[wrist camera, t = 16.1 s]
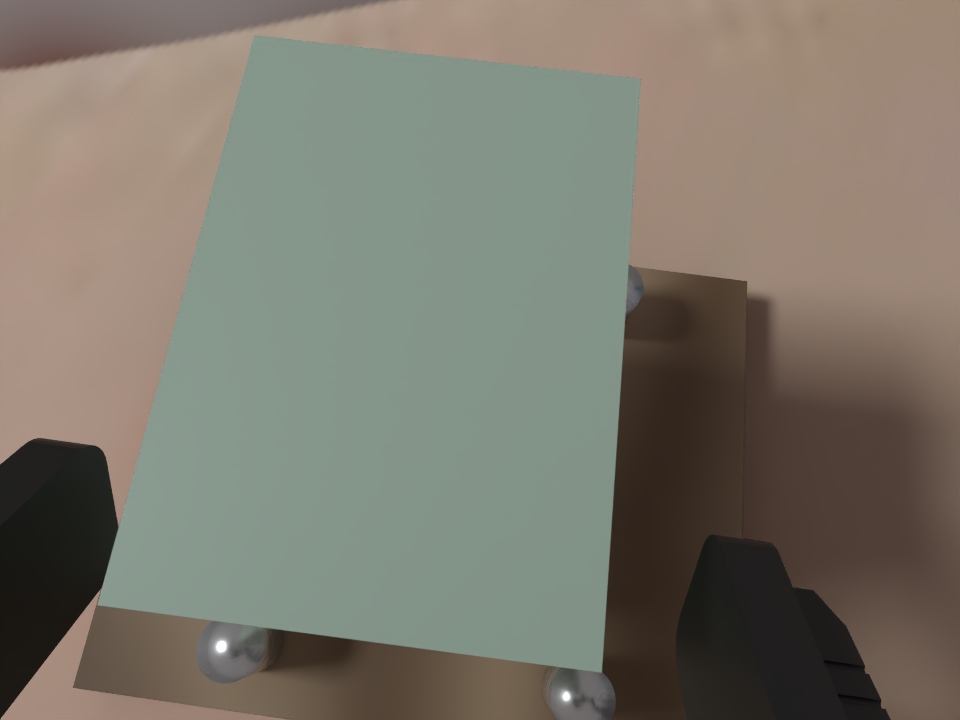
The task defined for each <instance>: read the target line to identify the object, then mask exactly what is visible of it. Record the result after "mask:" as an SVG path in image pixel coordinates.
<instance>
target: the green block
mask: <svg viewBox="0 0 960 720" xmlns="http://www.w3.org/2000/svg"><path fill="white" fill-rule="evenodd" d="M640 85H641V79H637V78H629V77H620V76H611V75H602V74H593V73H584V72H575V71H567V70H558V69H549V68H540V67H531V66H522V65H513V64H505V63H496V62H487V61H478V60H469V59H460V58H451V57H443V56H434V55H425V54H416V53H407V52H398V51H389V50H381V49H372V48H363V47H354V46H345V45H336V44H327V43H319V42H310V41H301V40H292V39H283V38H274V37H265V36H256V35H255V36H254V40H253V43H252V47H251V51H250V54H249V58H248V62H247V65H246V69H245V72H244V76H243V80H242V83H241V87H240V90H239V94H238V98H237V101H236V105H235V109H234V112H233V116H232V119H231V123H230V127H229V130H228V134H227V138H226V141H225V145H224V148H223V152H222V156H221V159H220V163H219V166H218V170H217V174H216V177H215V181H214V185H213V188H212V192H211V195H210V199H209V203H208V206H207V210H206V213H205V217H204V221H203V224H202V228H201V232H200V235H199V239H198V242H197V246H196V250H195V253H194V257H193V261H192V264H191V268H190V271H189V275H188V279H187V282H186V286H185V289H184V293H183V297H182V300H181V304H180V308H179V311H178V315H177V318H176V322H175V326H174V329H173V333H172V337H171V340H170V344H169V347H168V351H167V355H166V358H165V362H164V365H163V369H162V373H161V376H160V380H159V384H158V387H157V391H156V394H155V398H154V402H153V405H152V409H151V413H150V416H149V420H148V423H147V427H146V431H145V434H144V438H143V441H142V445H141V449H140V452H139V456H138V460H137V463H136V467H135V470H134V474H133V478H132V481H131V485H130V489H129V492H128V496H127V499H126V503H125V507H124V510H123V514H122V517H121V521H120V525H119V528H118V532H117V536H116V539H115V543H114V546H113V550H112V554H111V557H110V561H109V565H108V568H107V572H106V575H105V579H104V583H103V586H102V590H101V593H100V597H99V601H98V604H97V605H100V606H107V607H115V608H122V609H130V610H137V611H145V612H152V613H160V614H167V615H175V616H182V617H190V618H197V619H205V620H212V621H219V622H227V623H234V624H242V625H249V626H257V627H264V628H272V629H279V630H287V631H294V632H302V633H309V634H316V635H324V636H331V637H339V638H346V639H354V640H361V641H369V642H376V643H384V644H391V645H399V646H406V647H413V648H421V649H428V650H436V651H443V652H451V653H458V654H466V655H473V656H481V657H488V658H496V659H503V660H510V661H518V662H525V663H533V664H540V665H548V666H555V667H563V668H570V669H578V670H585V671H593V672H600V673H602V662H603V647H604V632H605V616H606V601H607V586H608V571H609V556H610V541H611V525H612V510H613V495H614V480H615V465H616V449H617V434H618V419H619V404H620V389H621V373H622V358H623V343H624V328H625V313H626V298H627V282H628V267H629V252H630V237H631V222H632V206H633V191H634V176H635V161H636V146H637V130H638V115H639V100H640Z"/></svg>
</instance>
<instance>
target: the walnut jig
mask: <svg viewBox="0 0 960 720" xmlns="http://www.w3.org/2000/svg"><path fill="white" fill-rule="evenodd" d="M746 316H747V281H740V280H732V279H724V278H716V277H709V276H701V275H693V274H685V273H677V272H669V271H662V270H654V269H646V268H638V267H632V266H630V265H629V267H628V282H627V298H626V313H625V328H624V343H623V358H622V373H621V389H620V404H619V419H618V434H617V449H616V465H615V480H614V495H613V510H612V525H611V541H610V556H609V571H608V586H607V601H606V616H605V632H604V647H603V662H602V673H600V672H593V671H585V670H578V669H570V668H563V667H555V666H548V665H540V664H533V663H525V662H518V661H510V660H503V659H496V658H488V657H481V656H473V655H466V654H458V653H451V652H443V651H436V650H428V649H421V648H413V647H406V646H399V645H391V644H384V643H376V642H369V641H361V640H354V639H346V638H339V637H331V636H324V635H316V634H309V633H302V632H294V631H287V630H279V629H272V628H264V627H257V626H249V625H242V624H234V623H227V622H219V621H212V620H205V619H197V618H190V617H182V616H175V615H167V614H160V613H152V612H145V611H137V610H130V609H122V608H115V607H107V606H100V605H96V608H95V612H94V615H93V619H92V622H91V626H90V629H89V633H88V637H87V640H86V644H85V647H84V651H83V654H82V658H81V661H80V665H79V668H78V672H77V675H76V679H75V682H74V686H73V688H78V689H85V690H92V691H99V692H105V693H112V694H119V695H126V696H133V697H139V698H146V699H153V700H160V701H167V702H173V703H180V704H187V705H194V706H201V707H207V708H214V709H221V710H228V711H235V712H241V713H248V714H255V715H262V716H269V717H275V718H282V719H289V720H687V718H686V713H685V708H684V703H683V697H682V692H681V687H680V682H679V676H678V671H677V664H676V633H677V626H678V621H679V617H680V614H681V611H682V608H683V605H684V601H685V598H686V595H687V592H688V589H689V586H690V583H691V580H692V577H693V574H694V571H695V568H696V565H697V562H698V559H699V556H700V553H701V550H702V547H703V544H704V542H705V540H706V539H707V537H708V536H710V535H712V534H713V535H720V536H727V537H735V538H742V535H743V480H744V425H745V371H746ZM119 525H120V524H119ZM101 590H102V588H101ZM100 593H101V591H100ZM99 597H100V594H99ZM98 601H99V598H98ZM98 601H97V604H98Z"/></svg>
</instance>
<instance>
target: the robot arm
mask: <svg viewBox="0 0 960 720" xmlns="http://www.w3.org/2000/svg"><path fill="white" fill-rule="evenodd" d="M117 532H118V522H117V517H116V511H115V505H114V500H113V494H112V489H111V483H110V477H109V472H108V466H107V461H106V457H105V455H104V453H103V451H102V450H101V449H100V448H99V447H97V446H93V445H86V444H79V443H72V442H65V441H58V440H50V439H43V438H37V439H33V440H31V441H29V442H27V443H26V444H25V445H23V446H22V447H21V448H20V449H18V450H17V451H16V452H15V453H14V454H12V455H11V456H10V457H9V458H8V459H6V460H5V461H4V462H3V463H2V464H1V465H0V719H1V717H2V716H3V715H4V713H5V712H6V711H7V709H8V708H9V707H10V706H11V704H12V703H13V702H14V700H15V699H16V698H17V697H18V695H19V694H20V693H21V691H22V690H23V689H24V687H25V686H26V685H27V684H28V682H29V681H30V680H31V678H32V677H33V676H34V674H35V673H36V672H37V671H38V669H39V668H40V667H41V665H42V664H43V663H44V662H45V660H46V659H47V658H48V656H49V655H50V654H51V652H52V651H53V650H54V649H55V647H56V646H57V645H58V643H59V642H60V641H61V640H62V638H63V637H64V636H65V634H66V633H67V632H68V630H69V629H70V628H71V627H72V625H73V624H74V623H75V621H76V620H77V619H78V617H79V616H80V615H81V614H82V612H83V611H84V610H85V608H86V607H87V606H88V605H89V603H90V602H91V601H92V599H93V598H94V597H95V595H96V594H97V593H98V592H99V590H100V589H101V588H102V586H103V583H104V579H105V575H106V572H107V568H108V565H109V561H110V557H111V554H112V550H113V546H114V543H115V539H116V536H117ZM676 664H677V671H678V676H679V682H680V687H681V692H682V697H683V703H684V708H685V713H686V718H687V720H890V718H889V715H888V713H887V711H886V709H882V708H881V699H880V697H879V694H878V692H877V690H876V688H875V686H874V684H873V682H872V680H871V678H870V676H869V674H865V671H864V668H865V665H864V663H863V661H862V659H861V657H860V654H859V652H858V650H857V648H856V646H855V644H854V642H853V640H852V638H851V636H850V633H849V631H848V629H847V627H846V626H845V625H844V623H843V622H842V621H841V620H840V619H839V618H838V617H837V616H836V615H835V614H834V613H833V611H832V610H831V609H830V608H829V607H828V606H827V605H826V604H825V603H824V602H823V601H822V599H821V598H820V597H819V596H818V595H817V594H816V593H815V592H814V591H813V590H806V589H799V588H793V586H792V584H791V582H790V579H789V577H788V574H787V572H786V570H785V567H784V565H783V562H782V560H781V558H780V555H779V553H778V551H777V549H776V548H775V546H774V545H773V544H772V543H769V542H763V541H756V540H749V539H742V538H735V537H727V536H720V535H713V534H712V535H710V536H708V537H707V539H706V540H705V542H704V544H703V547H702V550H701V553H700V556H699V559H698V562H697V565H696V568H695V571H694V574H693V577H692V580H691V583H690V586H689V589H688V592H687V595H686V598H685V601H684V605H683V608H682V611H681V614H680V617H679V621H678V626H677V633H676Z"/></svg>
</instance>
